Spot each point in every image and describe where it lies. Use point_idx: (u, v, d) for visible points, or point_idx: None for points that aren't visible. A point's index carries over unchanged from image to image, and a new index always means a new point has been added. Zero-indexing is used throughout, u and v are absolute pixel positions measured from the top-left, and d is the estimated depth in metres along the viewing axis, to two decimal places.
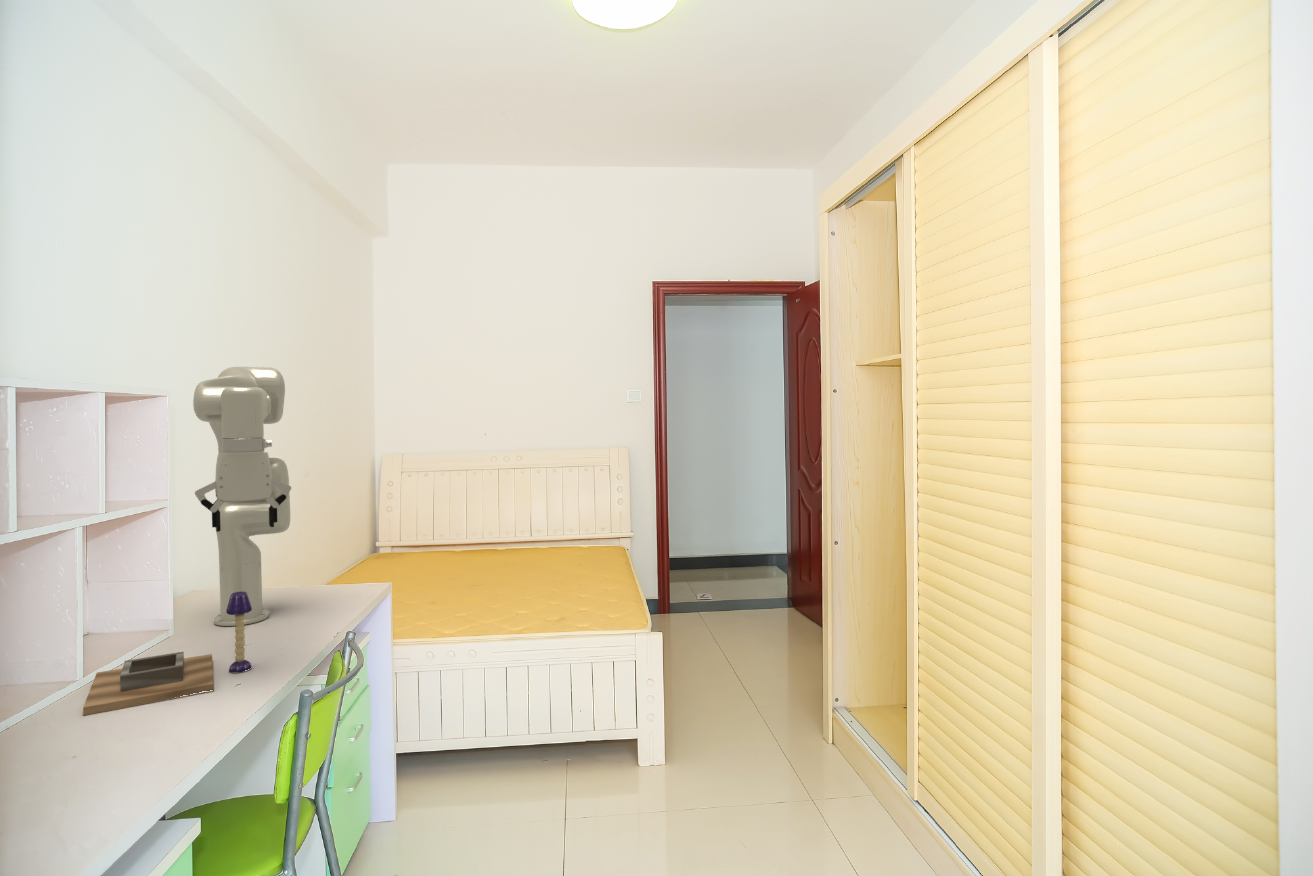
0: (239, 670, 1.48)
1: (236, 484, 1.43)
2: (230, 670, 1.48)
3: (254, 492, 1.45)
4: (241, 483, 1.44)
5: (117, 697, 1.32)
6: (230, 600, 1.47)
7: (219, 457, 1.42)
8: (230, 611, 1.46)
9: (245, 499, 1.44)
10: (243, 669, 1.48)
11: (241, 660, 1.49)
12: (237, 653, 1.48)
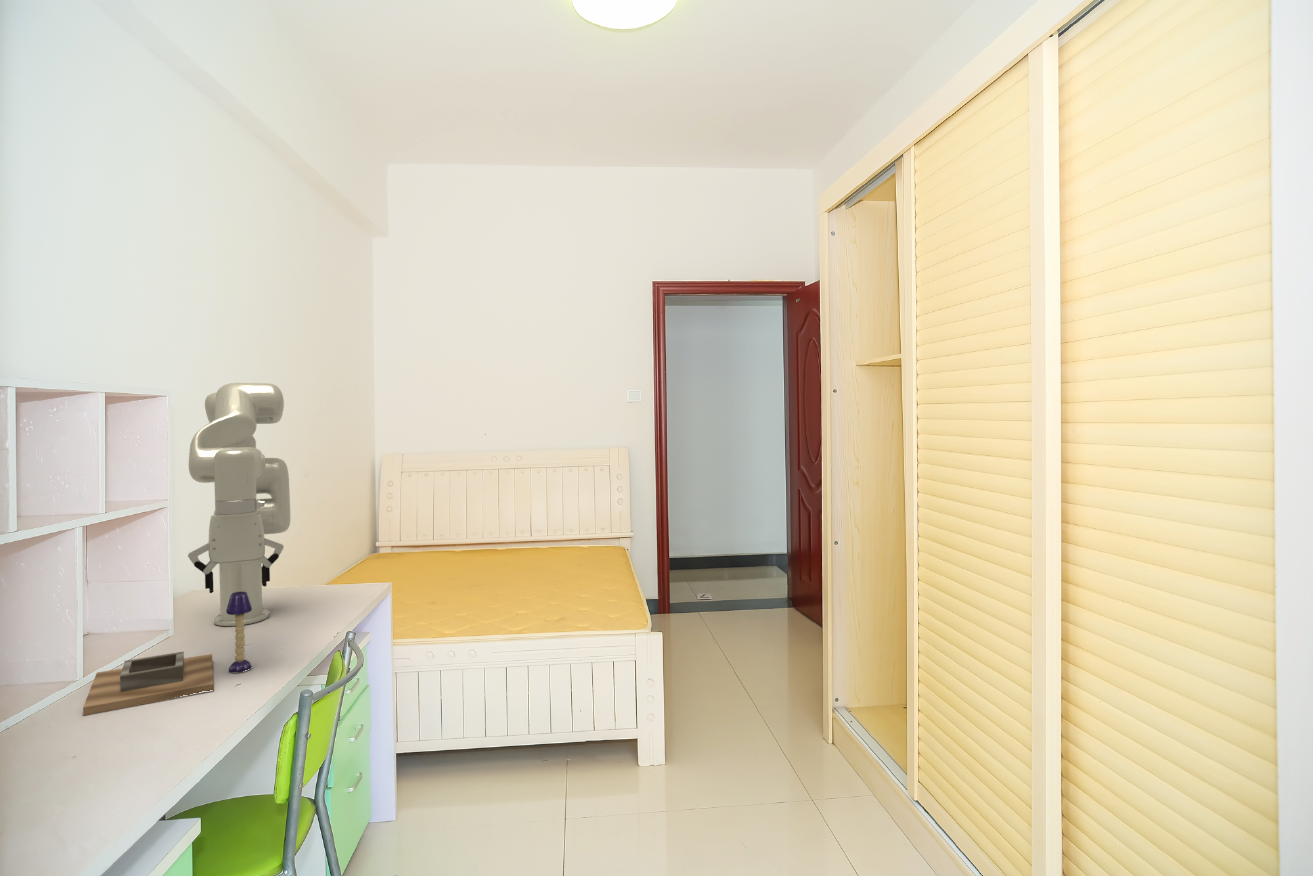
0: (239, 670, 1.48)
1: (229, 546, 1.45)
2: (230, 670, 1.48)
3: (247, 553, 1.47)
4: (234, 545, 1.46)
5: (117, 697, 1.32)
6: (230, 600, 1.47)
7: (212, 519, 1.44)
8: (230, 611, 1.46)
9: (238, 560, 1.46)
10: (243, 669, 1.48)
11: (241, 660, 1.49)
12: (237, 653, 1.48)
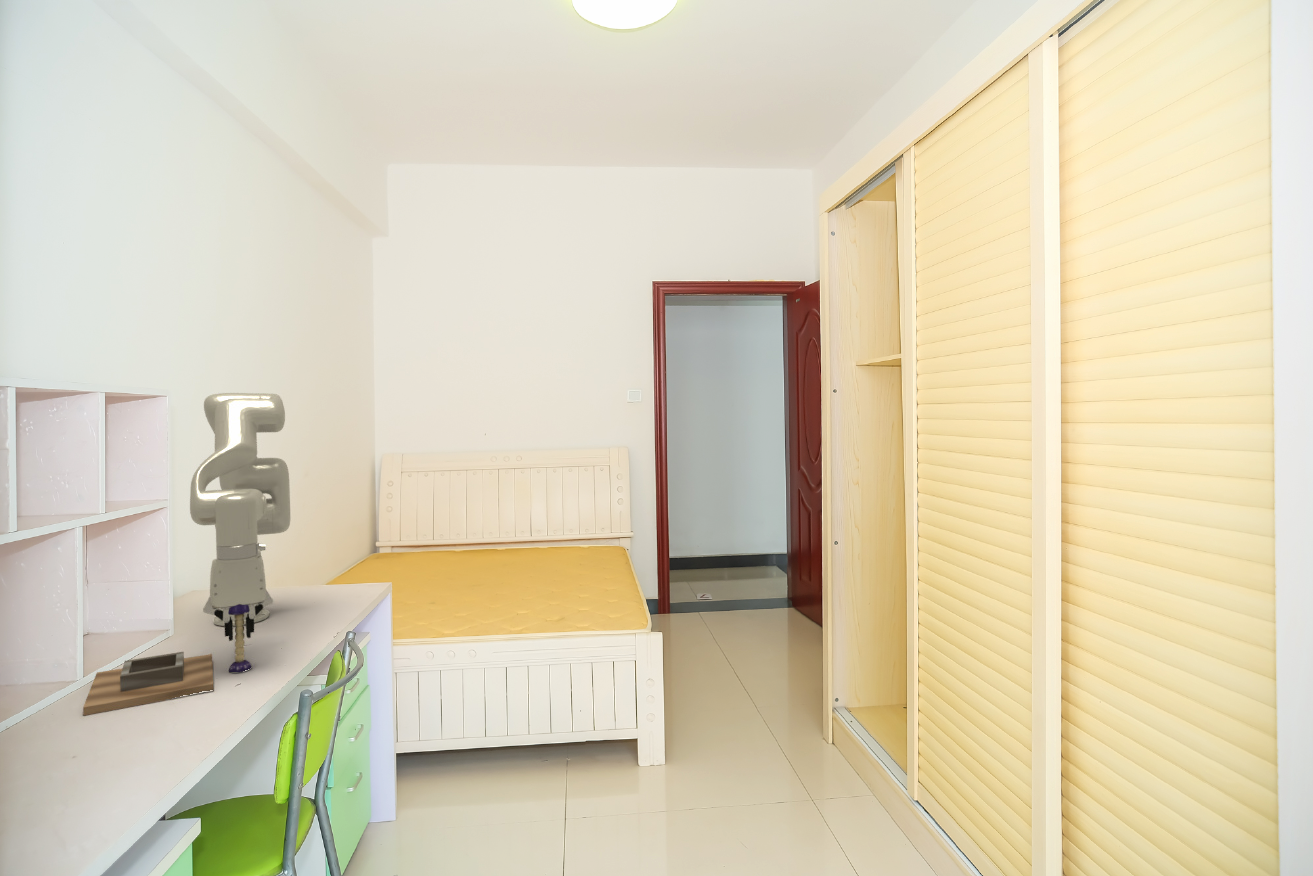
0: (239, 670, 1.48)
1: (230, 591, 1.46)
2: (230, 670, 1.48)
3: (248, 597, 1.48)
4: (235, 589, 1.46)
5: (117, 697, 1.32)
6: None
7: (213, 565, 1.45)
8: (230, 611, 1.46)
9: None
10: (243, 669, 1.48)
11: (241, 660, 1.49)
12: (237, 653, 1.48)
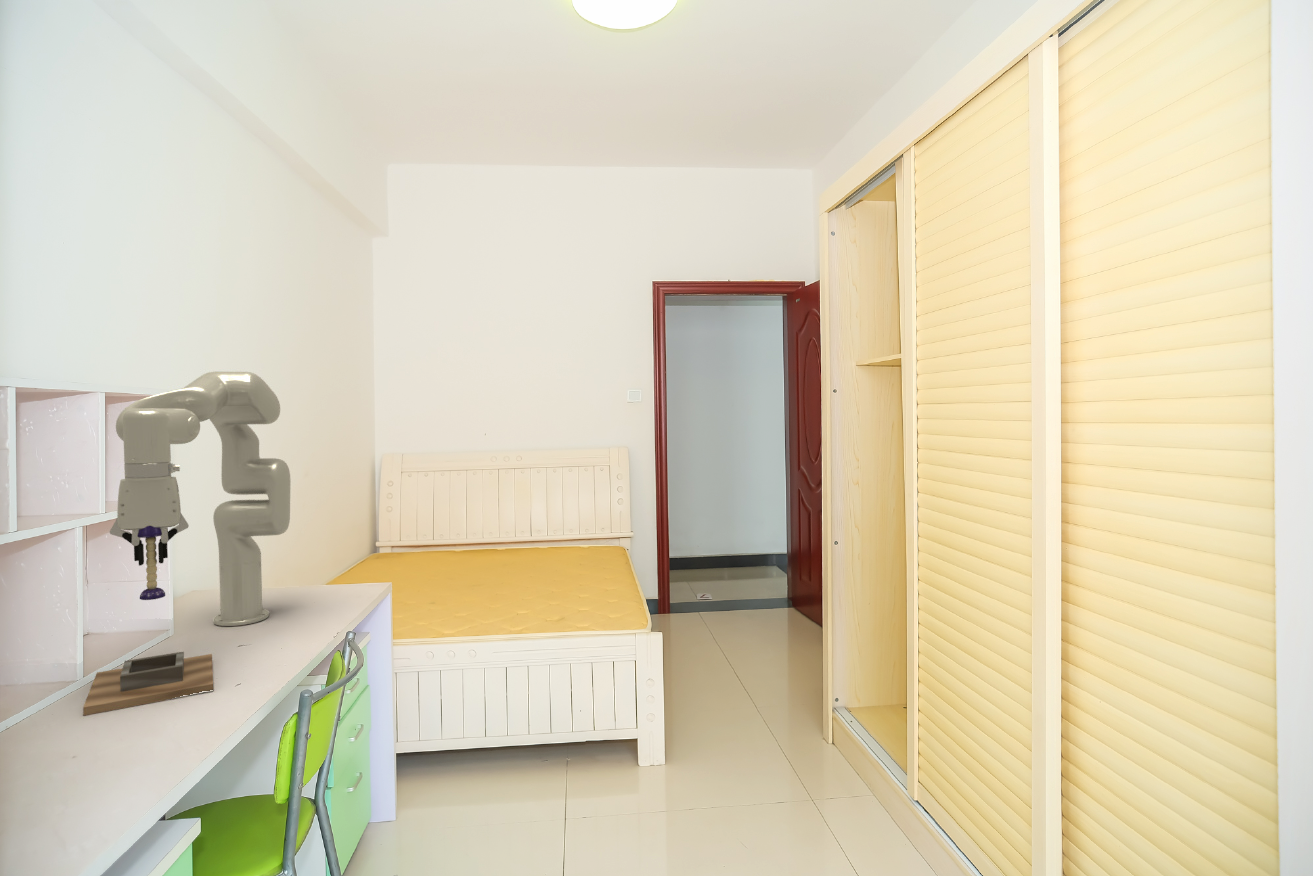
0: (150, 597, 1.39)
1: (139, 512, 1.37)
2: (141, 597, 1.39)
3: (159, 519, 1.39)
4: (145, 510, 1.37)
5: (117, 697, 1.32)
6: None
7: (121, 483, 1.36)
8: (140, 533, 1.37)
9: None
10: (155, 596, 1.39)
11: (153, 587, 1.40)
12: (148, 579, 1.40)
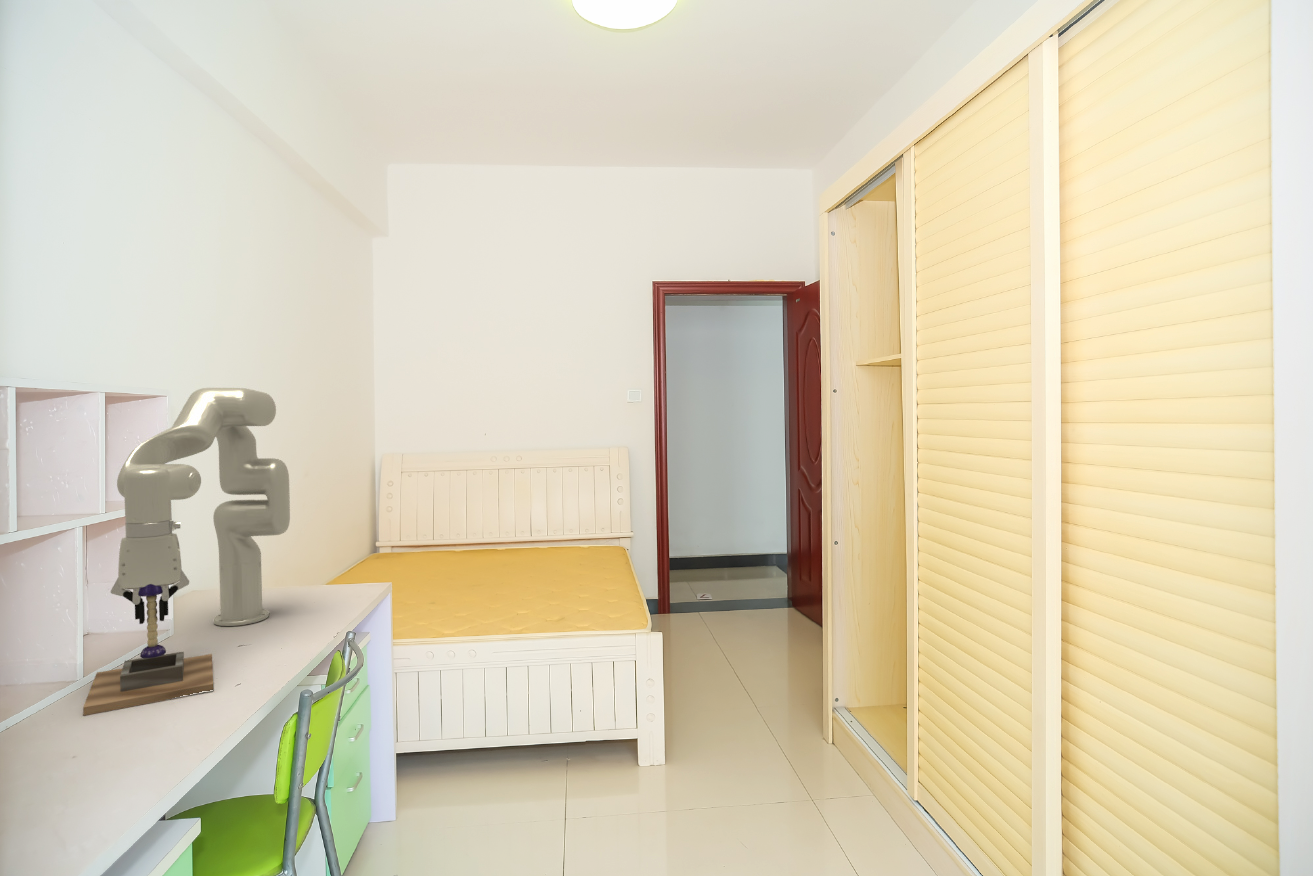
0: (151, 655, 1.39)
1: (140, 571, 1.37)
2: (141, 655, 1.39)
3: (160, 577, 1.39)
4: (146, 569, 1.38)
5: (117, 697, 1.32)
6: None
7: (122, 543, 1.36)
8: (140, 592, 1.38)
9: None
10: (155, 654, 1.40)
11: (153, 644, 1.40)
12: (149, 637, 1.40)
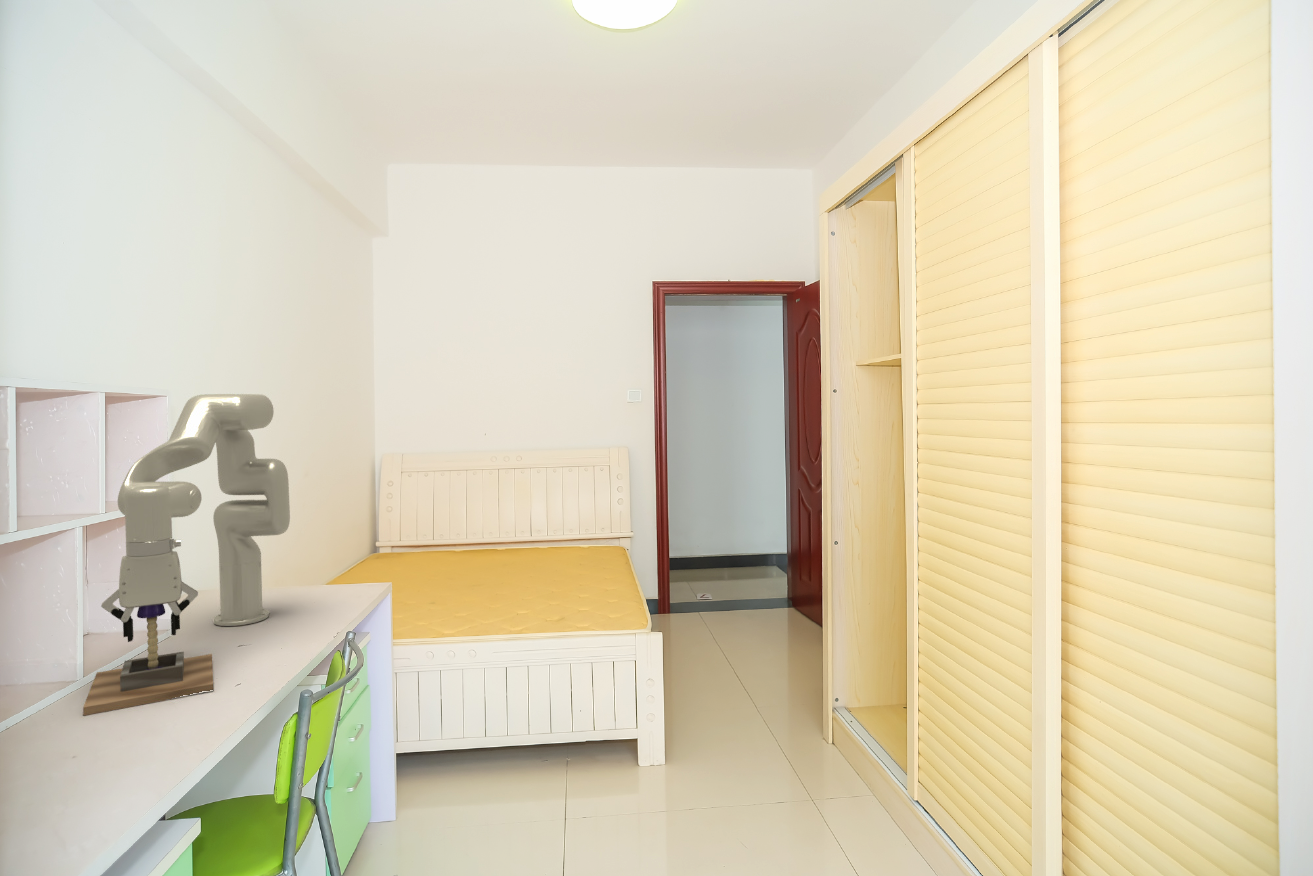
0: None
1: (140, 589, 1.37)
2: None
3: (160, 596, 1.39)
4: (146, 588, 1.38)
5: (117, 697, 1.32)
6: None
7: (122, 561, 1.37)
8: (141, 614, 1.39)
9: (151, 604, 1.39)
10: None
11: (154, 666, 1.41)
12: (149, 659, 1.41)
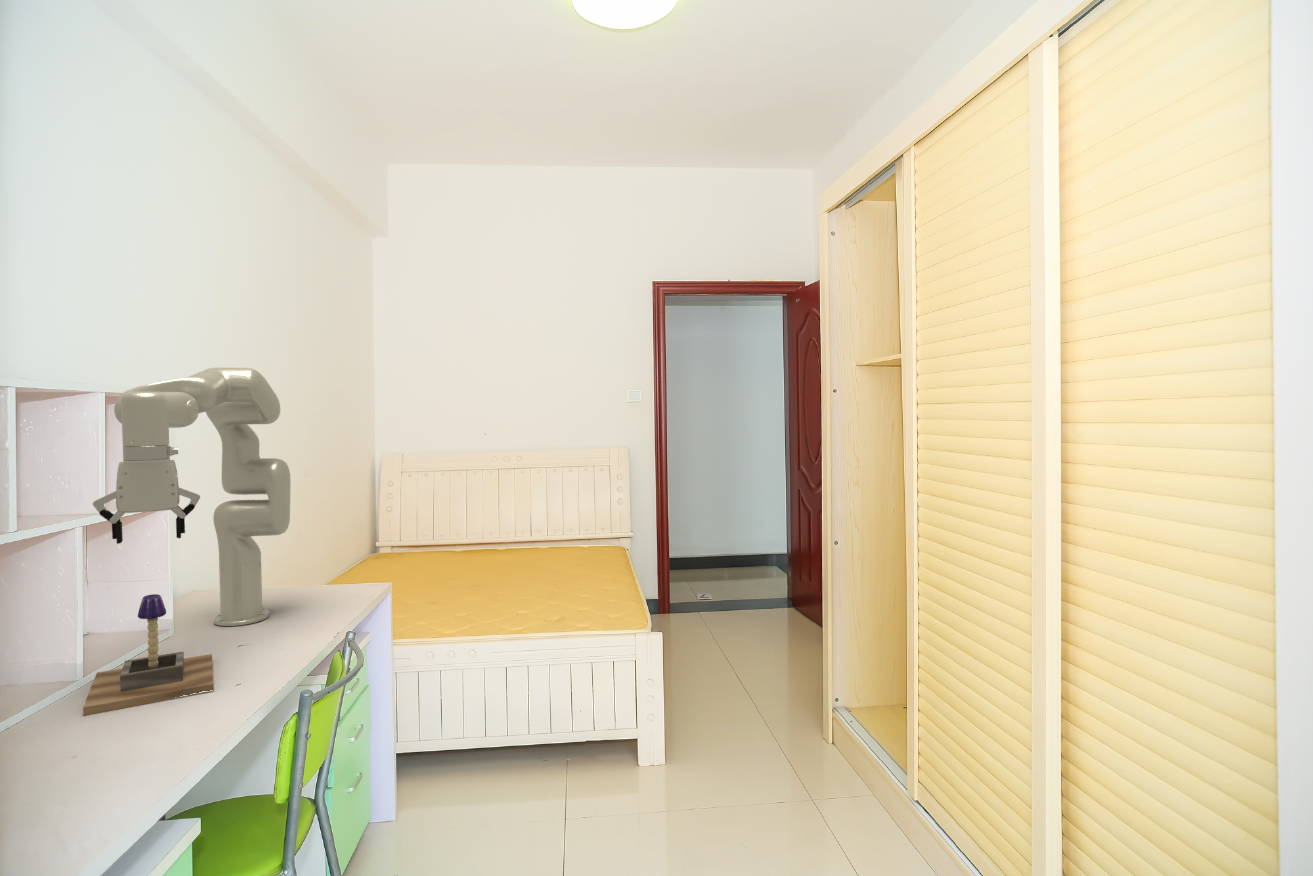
0: None
1: (137, 494, 1.37)
2: None
3: (158, 502, 1.39)
4: (144, 493, 1.37)
5: (117, 697, 1.32)
6: (141, 603, 1.39)
7: (119, 466, 1.36)
8: (141, 615, 1.38)
9: (148, 509, 1.38)
10: None
11: (154, 667, 1.41)
12: (150, 659, 1.41)
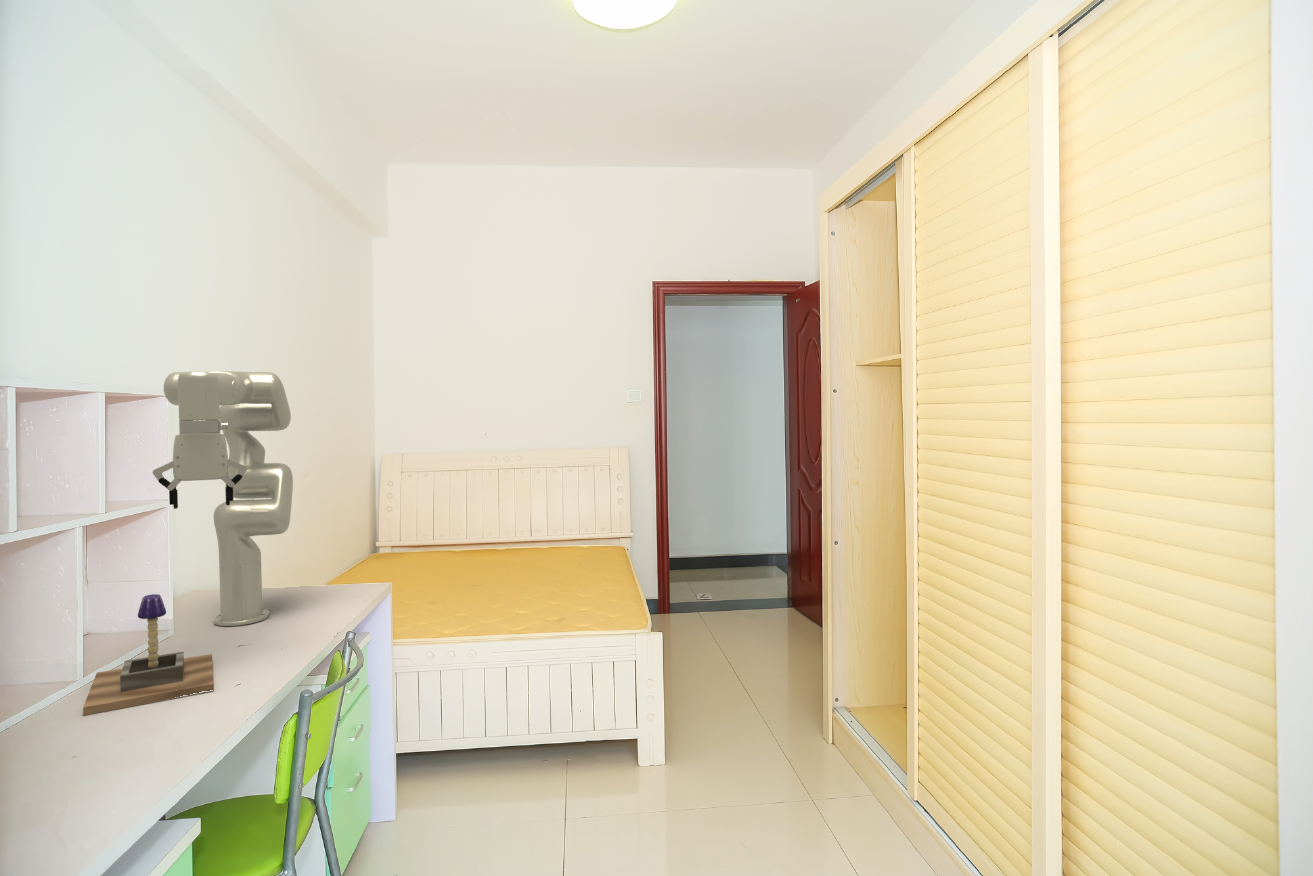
0: None
1: (192, 464, 1.50)
2: None
3: (210, 471, 1.52)
4: (198, 463, 1.51)
5: (117, 697, 1.32)
6: (141, 603, 1.39)
7: (176, 438, 1.50)
8: (141, 615, 1.39)
9: (201, 478, 1.52)
10: None
11: (154, 667, 1.41)
12: (150, 659, 1.41)
